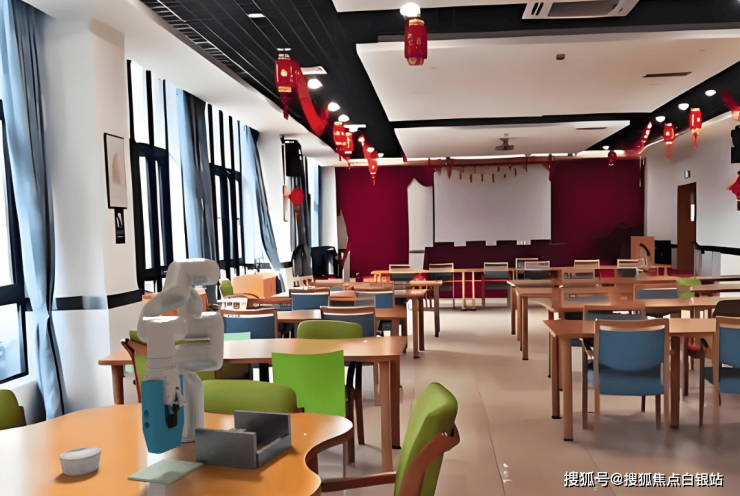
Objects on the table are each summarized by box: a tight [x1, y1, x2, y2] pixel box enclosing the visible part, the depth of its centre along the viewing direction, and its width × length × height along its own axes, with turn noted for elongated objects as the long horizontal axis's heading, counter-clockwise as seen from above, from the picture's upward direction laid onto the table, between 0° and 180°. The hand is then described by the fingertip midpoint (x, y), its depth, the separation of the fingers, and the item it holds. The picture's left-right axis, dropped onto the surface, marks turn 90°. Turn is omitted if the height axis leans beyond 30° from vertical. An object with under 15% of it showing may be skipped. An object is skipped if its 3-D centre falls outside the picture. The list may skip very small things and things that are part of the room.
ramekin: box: [58, 446, 102, 477], centre depth 181 cm, size 11×11×5 cm
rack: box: [194, 409, 292, 470], centre depth 190 cm, size 20×22×10 cm
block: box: [140, 375, 184, 455], centre depth 177 cm, size 12×5×20 cm, turn 152°
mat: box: [127, 458, 204, 485], centre depth 177 cm, size 14×15×1 cm
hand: (164, 425), depth 177 cm, fingers closed on block, 5 cm apart
